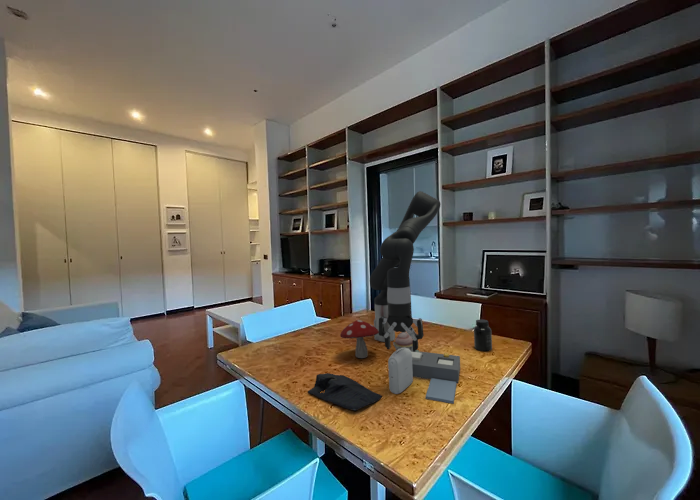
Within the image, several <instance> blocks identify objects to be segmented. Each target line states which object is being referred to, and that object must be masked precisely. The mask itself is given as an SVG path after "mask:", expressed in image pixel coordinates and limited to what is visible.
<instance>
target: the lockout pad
mask: <svg viewBox="0 0 700 500" xmlns="http://www.w3.org/2000/svg"><path fill="white" fill-rule="evenodd" d="M456 390H457V383H456V382H455V381H448V380H441V379H435V378H431V379H430V381H429V384H428V387H427V391H426V394H425V400H429V401H430V400H431V401H437V402H441V403H446V404H447V403H448V404H455V398H456Z"/></svg>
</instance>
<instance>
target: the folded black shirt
mask: <svg viewBox="0 0 700 500" xmlns="http://www.w3.org/2000/svg"><path fill="white" fill-rule="evenodd" d="M314 382H315V383H314V386H313V387H312V388H311V389H309V390H307V393H308V394H310V395H313V396H315V397H317V398H318V399H320V400H323V401H325V402H330V403H332V404H333V405H336V406H339V407H341V408H343V409H346V410H351V411H358V410H360V409H362V408H365V407H367V406H369V405H371V404H374V403H376V402H378V401H379V400H381V399H382V397H383V395H382V394H380V393H377V392H375V391H373V390H371V389H369V388H367V387H366V386H365V385H364V384H361V383H360V382H358V381H356V380H354V379H352V378H350V377H349V376H348V377H347V376H346V375H345V374H343V375H342V374H334V373H330V372H326V373H319V374H318V373H317V374H316V377H315V381H314ZM324 390H325V391H324ZM321 391H323V392H321ZM320 392H321V393H320Z"/></svg>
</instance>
